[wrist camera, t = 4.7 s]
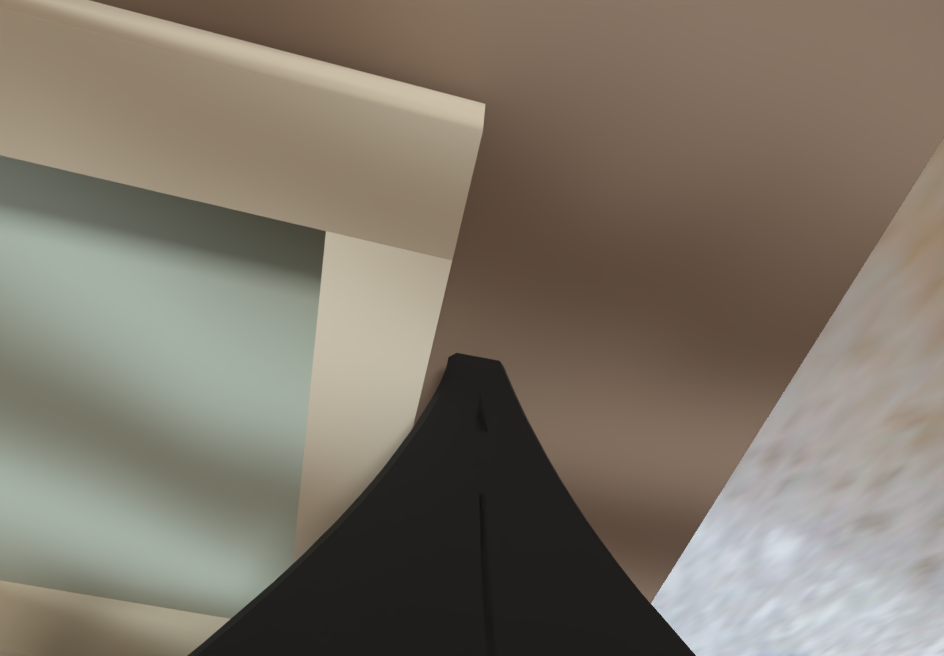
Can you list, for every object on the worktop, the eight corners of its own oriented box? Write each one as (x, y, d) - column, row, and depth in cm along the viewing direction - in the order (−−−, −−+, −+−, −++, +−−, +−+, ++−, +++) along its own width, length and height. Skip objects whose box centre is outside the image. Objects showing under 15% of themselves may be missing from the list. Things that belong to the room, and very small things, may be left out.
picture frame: (354, 668, 15) (335, 754, 13) (-187, 581, 14) (-287, 663, 12) (485, 104, 7) (482, 131, 6) (-712, -209, 6) (-1196, -300, 4)
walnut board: (555, 707, 18) (558, 749, 17) (-184, 605, 17) (-228, 643, 16) (1049, -160, 7) (1150, -193, 6) (-1218, -780, 5) (-1659, -987, 4)
